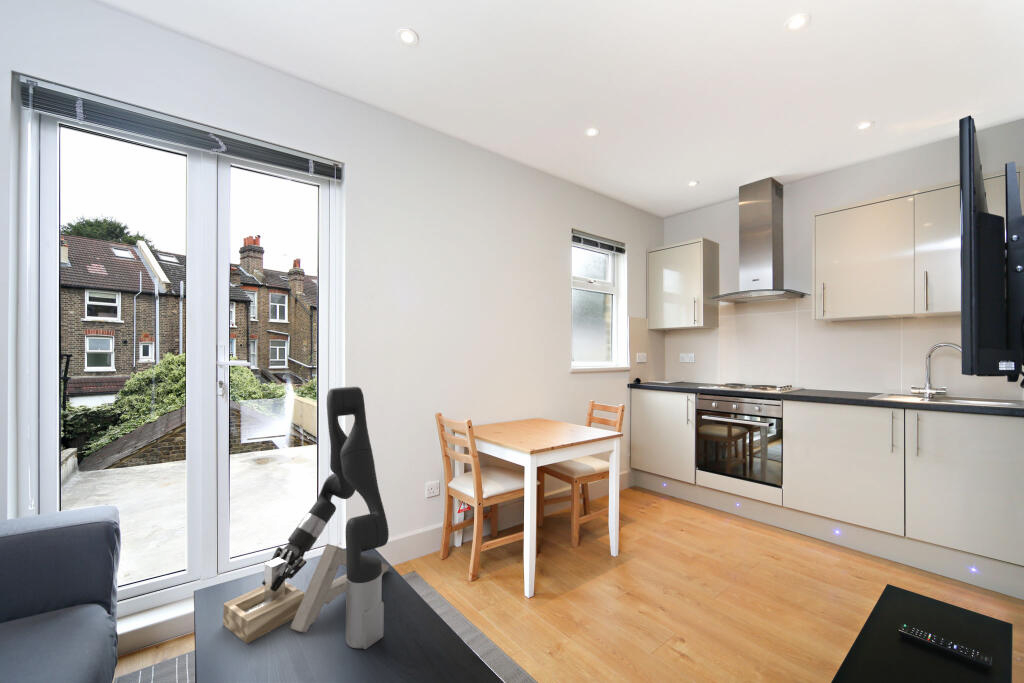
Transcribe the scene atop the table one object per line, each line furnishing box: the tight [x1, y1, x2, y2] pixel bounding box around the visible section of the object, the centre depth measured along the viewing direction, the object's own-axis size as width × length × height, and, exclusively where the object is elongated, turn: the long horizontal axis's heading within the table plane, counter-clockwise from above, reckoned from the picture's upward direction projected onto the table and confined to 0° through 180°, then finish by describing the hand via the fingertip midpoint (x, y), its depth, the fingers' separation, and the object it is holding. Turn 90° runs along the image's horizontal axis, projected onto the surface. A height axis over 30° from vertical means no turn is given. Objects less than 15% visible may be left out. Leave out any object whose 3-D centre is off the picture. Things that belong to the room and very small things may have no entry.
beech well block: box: [222, 581, 305, 644], centre depth 124 cm, size 14×16×6 cm
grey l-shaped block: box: [244, 558, 286, 613], centre depth 124 cm, size 4×10×13 cm, turn 147°
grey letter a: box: [289, 543, 390, 633], centre depth 135 cm, size 22×4×30 cm
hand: (268, 587), depth 125 cm, fingers closed on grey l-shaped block, 4 cm apart
